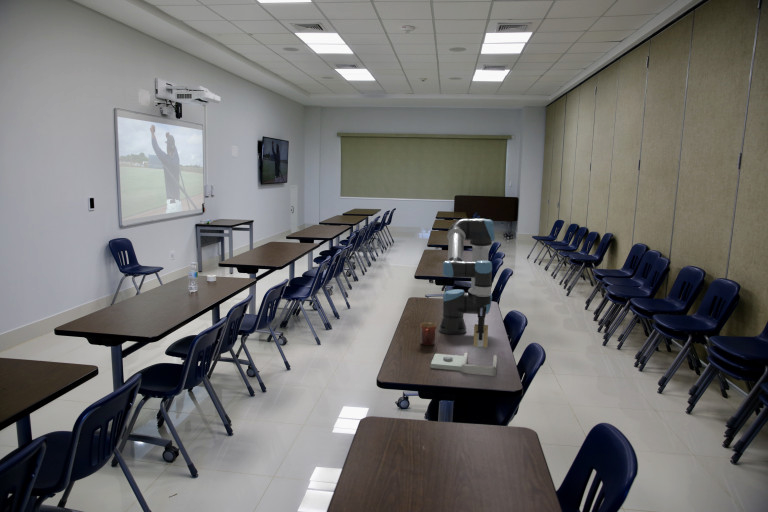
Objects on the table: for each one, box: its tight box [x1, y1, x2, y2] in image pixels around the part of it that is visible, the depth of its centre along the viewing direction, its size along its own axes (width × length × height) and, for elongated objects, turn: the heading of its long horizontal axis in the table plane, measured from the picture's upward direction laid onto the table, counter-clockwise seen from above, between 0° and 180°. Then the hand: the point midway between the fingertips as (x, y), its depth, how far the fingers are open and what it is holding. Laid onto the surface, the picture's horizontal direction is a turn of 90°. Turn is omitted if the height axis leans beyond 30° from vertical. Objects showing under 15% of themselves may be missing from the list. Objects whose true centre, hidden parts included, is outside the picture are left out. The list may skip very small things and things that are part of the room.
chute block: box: [473, 323, 489, 348], centre depth 230 cm, size 5×6×9 cm
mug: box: [419, 322, 437, 346], centre depth 260 cm, size 12×9×10 cm
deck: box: [430, 352, 498, 377], centre depth 231 cm, size 17×29×4 cm, turn 76°
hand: (480, 344), depth 231 cm, fingers closed on chute block, 5 cm apart
